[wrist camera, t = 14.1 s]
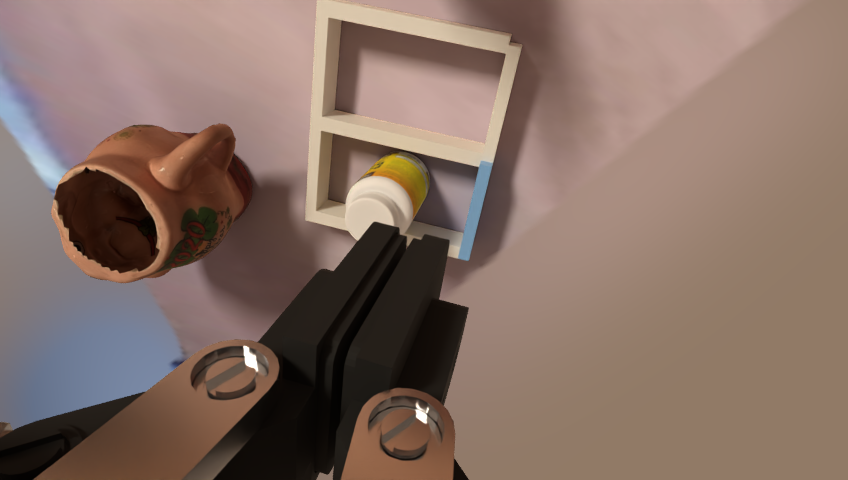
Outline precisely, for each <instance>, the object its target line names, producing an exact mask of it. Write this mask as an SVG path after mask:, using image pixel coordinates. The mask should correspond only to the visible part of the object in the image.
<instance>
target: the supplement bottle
mask: <svg viewBox="0 0 848 480" xmlns="http://www.w3.org/2000/svg"><path fill="white" fill-rule="evenodd" d="M429 188H430V176H429V172H428V170H427V168H426V166H425V165H424V163H423V162H422V161H421V160H420V159H419V158H417V157H416V156H414V155H412V154H410V153H407V152H402V151H396V152H391V153H388V154H386V155H384V156H383V157H382V158H380V159H379V160H378V161H377V162H376V163H375V164H374V165H373V166H372V167H371V168H370V169H369V170H368V171H367V172H366V173H365V174H364V175H363V176H362V177H361V178H360V179H359V180H358V181H357V182H356V183H355V184H354V186H353V187H352V188H351V189H350V191H349V193H348V196H347V199H346V213H345V224H346V227H347V229H348V231H349V233H350V234H351V235H352V236H353V237H354V238H355V239H356V240H357V241H358V240H359V239H360V238H361V236H362V235H363V234H364V233H365V231H366V230H367V229H368V228H369V226H370V225H371V224H372V223H373V222H374V221H375V222H379V223H383V224H387V225H391V226H395V227H399V229H400V235H403V234H404V233H405V232H406V230H407V229H408V228H409V226H410V224H411V222H412V221H413V219H414V217H415V215H416V214H417V212H418V210H419V208H420V207H421V205H422V203H423V201H424V199H425V198H426V196H427V194H428V191H429Z"/></svg>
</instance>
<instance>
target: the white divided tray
mask: <svg viewBox="0 0 848 480" xmlns="http://www.w3.org/2000/svg"><path fill="white" fill-rule="evenodd" d="M342 20H343V21H348V22H353V23H358V24H363V25H368V26H373V27H378V28H383V29H387V30H392V31H397V32H402V33H407V34H412V35H417V36H422V37H426V38H431V39H436V40H441V41H446V42H451V43H456V44H461V45H466V46H470V47H475V48H480V49H485V50H490V51H495V52H500V53H505V54H506V57H505V61H504V65H503V69H502V74H501V78H500V82H499V86H498V91H497V95H496V99H495V103H494V108H493V112H492V116H491V120H490V125H489V129H488V133H487V137H486V142H485V143H481V142H476V141H472V140H467V139H463V138H458V137H454V136H449V135H445V134H441V133H436V132H432V131H427V130H423V129H418V128H414V127H410V126H405V125H401V124H396V123H392V122H387V121H383V120H378V119H374V118H370V117H365V116H361V115H356V114H352V113H347V112H343V111H339V110H335V101H336V88H337V75H338V62H339V49H340V36H341V23H342ZM511 36H512V34H510V33H505V32H500V31H495V30H490V29H485V28H480V27H475V26H470V25H465V24H460V23H455V22H450V21H445V20H440V19H435V18H430V17H425V16H420V15H415V14H410V13H405V12H400V11H395V10H390V9H385V8H380V7H375V6H370V5H365V4H360V3H355V2H350V1H345V0H317V9H316V27H315V46H314V64H313V83H312V102H311V120H310V139H309V158H308V176H307V195H306V213H305V220H307V221H311V222H315V223H319V224H323V225H327V226H331V227H335V228H339V229H343V230H346V231H348V229H347V227H346V224H345V213H346V204H344V203H340V202H336V201H332V200H328V191H329V178H330V166H331V153H332V140H333V133H334V134H338V135H342V136H347V137H351V138H355V139H360V140H364V141H368V142H373V143H377V144H381V145H386V146H390V147H394V148H399V149H403V150H407V151H412V152H416V153H420V154H425V155H429V156H433V157H438V158H442V159H446V160H451V161H455V162H459V163H464V164H468V165H472V166H477V167H479V170H478V174H477V178H476V183H475V187H474V191H473V195H472V200H471V204H470V208H469V213H468V217H467V221H466V225H465V230H464V233H461V232H457V231H453V230H449V229H445V228H441V227H437V226H433V225H429V224H425V223H421V222H417V221H412V222H411V224H410V226H409V228H408V229H407V230H406V232H405V233H404V234H403V235H404V236H407V245H406V246H409V244H410V243H411V241H412V239H413V238H416V239H420V240H421V239H422V237H423V236H424V234H428V235H432V236H436V237H440V238H444V239H448V240H450V244H449V250H448V255H447V256H449V257H453V258H457V259H458V258H459V259H462V260H466V261H469V258H470V254H471V250H472V246H473V242H474V238H475V234H476V230H477V226H478V222H479V218H480V214H481V210H482V206H483V202H484V198H485V194H486V190H487V186H488V182H489V178H490V174H491V170H492V166H493V162H494V158H495V154H496V150H497V146H498V141H499V137H500V133H501V129H502V125H503V121H504V117H505V113H506V109H507V105H508V101H509V97H510V93H511V89H512V85H513V81H514V77H515V73H516V69H517V65H518V61H519V57H520V53H521V49H522V45H523V44H518V43H513V42H510V40H511Z"/></svg>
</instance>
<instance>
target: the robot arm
mask: <svg viewBox="0 0 848 480" xmlns="http://www.w3.org/2000/svg"><path fill="white" fill-rule="evenodd" d="M449 244H450V240H448V239H444V238H440V237H436V236H432V235H428V234H424V236H423V237H422V239H421V240H420V239H416V238H413V239H412V241H411V243H410V244H409V246H408V248H407V249H406V245H407V236H404V235H400V229H399V227H395V226H391V225H387V224H383V223H379V222H375V221H374V222H373V223H372V224H371V225H370V226H369V228H368V229H367V230H366V231H365V233H364V234H363V235H362V236H361V238H360V239H359V240H358V241H357V243H356V244H355V245H354V247H353V248H352V249H351V250H350V252H349V253H348V254H347V255H346V257H345V258H344V259H343V260H342V262H341V263H340V264H339V265H338V267H337V268H336V269H335V270H334V271H330V270H327V269H321V270H320V271H318V272H317V273H316V274H315V276H314V277H313V278H312V279H311V280H310V281H309V283H308V284H307V285H306V286H305V287H304V288H303V290H302V291H301V292H300V293H299V294H298V295H297V297H296V298H295V299H294V300H293V301H292V303H291V304H290V305H289V306H288V307H287V308H286V310H285V311H284V312H283V313H282V314H281V315H280V317H279V318H278V319H277V320H276V321H275V322H274V324H273V325H272V326H271V327H270V328H269V330H268V331H267V332H266V333H265V334H264V335H263V337H262V338H261V339H260V340H259V341H258V342H254V341H251V340H238V339H234V340H227V341H221V342H218V343H215V344H212V345H209V346H207V347H205V348H203V349H202V350H200V351H198V352H197V353H195V354H194V355H192V356H191V357H190V358H188V359H187V360H186V361H185V362H183V363H182V364H181V365H179V366H178V367H177V368H176V369H174V370H173V371H172V372H171V373H169V374H168V375H167V376H165V377H164V378H163V379H162V380H160V381H159V382H158V383H156V384H155V385H154V386H153V387H152V388H150V389H149V390H147V391H146V392H142V393H138V394H135V395H131V396H127V397H124V398H120V399H116V400H113V401H109V402H106V403H102V404H98V405H94V406H91V407H87V408H83V409H79V410H76V411H72V412H68V413H64V414H61V415H57V416H53V417H50V418H46V419H43V420H39V421H36V422H33V423H30V424H27V425H24V426H22V427H19V428H17V429H15V430H12V427H11V425H10V423H5V422H0V480H316V479H317V477H318V475H319V473H320V472H321V473H324V474H329V473H330V471H331V470H332V468H333V466H334V471H333V480H469V479H468V478H467V476H466V475H465V473H464V472H463V470H462V469H461V467H460V466H459V465H458V463H457V462H456V460H455V459H454V448H455V429H454V422H453V420H452V418H451V416H450V414H449V412H448V410H447V409H446V408H445V407H444V403H445V399H446V396H447V392H448V388H449V385H450V382H451V378H452V374H453V371H454V367H455V363H456V359H457V355H458V352H459V347H460V343H461V339H462V335H463V331H464V327H465V322H466V318H467V314H468V309H469V308H468V307H465V306H461V305H457V304H453V303H450V302H446V301H442V300H439V297H440V291H441V286H442V281H443V276H444V271H445V266H446V261H447V255H448V250H449Z"/></svg>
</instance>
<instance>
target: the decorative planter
mask: <svg viewBox="0 0 848 480" xmlns="http://www.w3.org/2000/svg"><path fill="white" fill-rule="evenodd" d="M235 141H236V139H235V137H234V134H233V131H232V130H231V128H230V127H229V126H227V125H226V124H217V125H212V126H210V127H208V128H206V129H205V130H203V131H201V132H200V133H181V132H170V131H168V130H166V129H164V128H162V127H158V126H154V125H133V126H130V127H127V128H125V129H123V130H121V131H119V132H117V133H115V134H113V135H111V136H110V137H108V138H106V139H105V140H104V141H102V142H101V143H100V144H99V145H98V146H97V147H96V148H95V149H94V150H93V151H92V152H91V153H90V154H89V156H88V157H87V159H86V160H85V161H84V162H82V163H80V164H78V165H76V166H74V167H73V168H72V169H70V170H69V171H68V172H67V173H66V174H65V175H64V176H63V177H62V179H61V180H60V182H59V184H58V186H57V188H56V191H55V197H54V202H53V206H52V211H51V212H52V213H51V214H52V217H53V219H54V221H55V223H56V225H57V227H58V229H59V232H60V235H61V240H62V244H63V248H64V251H65V253H66V254H67V255H68V257H69V258H70V259H71V260H72V261H73V262H74V263H75V264H76V265H77V266H78V267H79V268H80V269H81V270H82V271H83V272H84V273H85V274H87V275H88V276H90V277H93V278H96V279H100V280H109V281H114V282H118V283H129V282H133V281H137V280H140V279H143V278H156V277H160V276H162V275H164V274H166V273H167V272H169V271H170V270H171V269H172V268H176V267H181V266H184V265H188V264H191V263H193V262H195V261H197V260H200V259H201V258H203V257H205V256H206V255H207V254H209V253H210V252H211V251H212V250H213V249H215V248H216V247H217V246H218V244H219V243H220V242H221V241H222V239H223V238H224V237H225V235H226V234H227V232H228V231H229V229H230V227H231V226H232V223H233V222H234V221H235V220H237V219H238V218H239V217H240V216H241V214H242V213H243V212H244V211H245V209H246V208H247V206H248V204H249V202H250V200H251V196H252V184H251V181H250V178H249V176H248V174H247V172H246V171H245V169H244V167H243V166H242V164H241V163H240V161H239V160H238V159H237V158H236V157H235V155H233V153H234V149H235Z"/></svg>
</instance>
